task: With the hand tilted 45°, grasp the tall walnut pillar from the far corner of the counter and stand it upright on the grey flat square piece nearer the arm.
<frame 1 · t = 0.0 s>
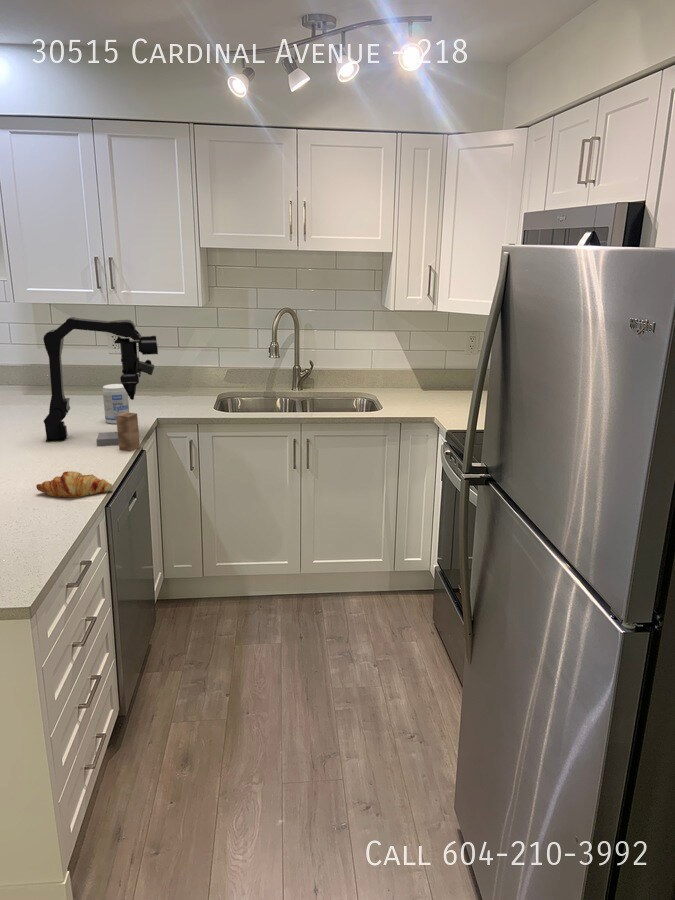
hand: (133, 396, 243), 15 cm above the countertop, tool pointing down, fingers open, 9 cm apart
grey flat square piece: (111, 441, 238), on the countertop
supplement tub: (118, 421, 266), on the countertop
walnut pillar: (129, 448, 230), on the countertop
croissant: (75, 494, 189), on the countertop
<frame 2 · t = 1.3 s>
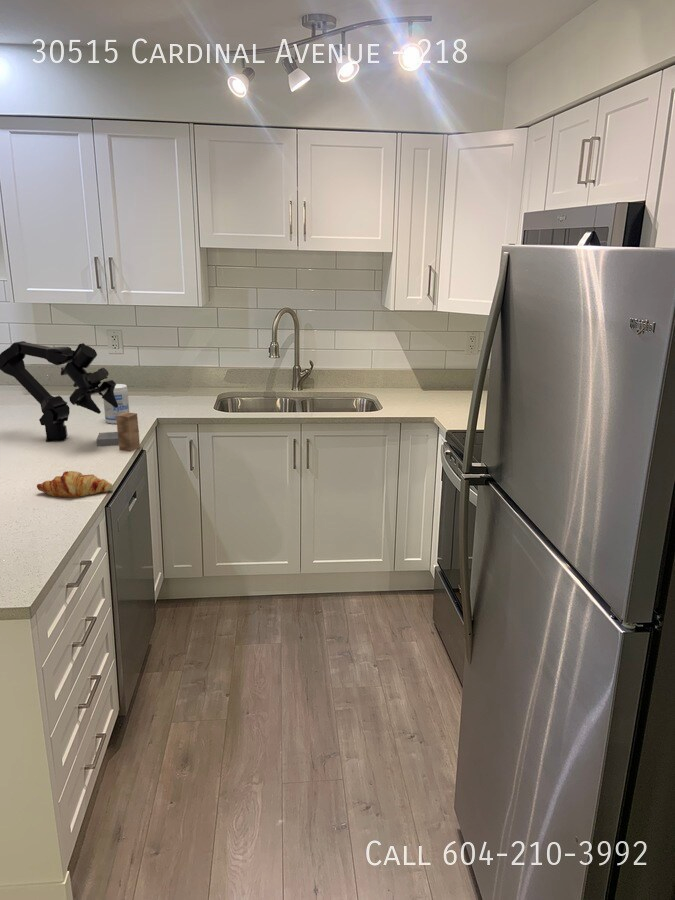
hand: (108, 409, 229), 13 cm above the countertop, tool tilted 45°, fingers open, 9 cm apart
nothing on the countertop moved.
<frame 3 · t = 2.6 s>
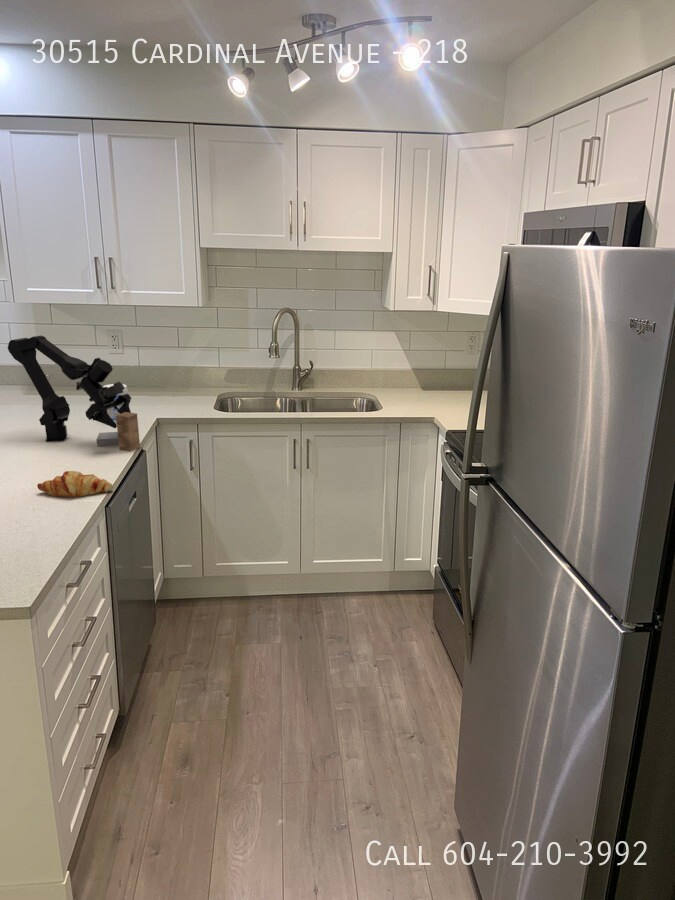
hand: (124, 424, 228), 9 cm above the countertop, tool tilted 45°, fingers open, 9 cm apart
nothing on the countertop moved.
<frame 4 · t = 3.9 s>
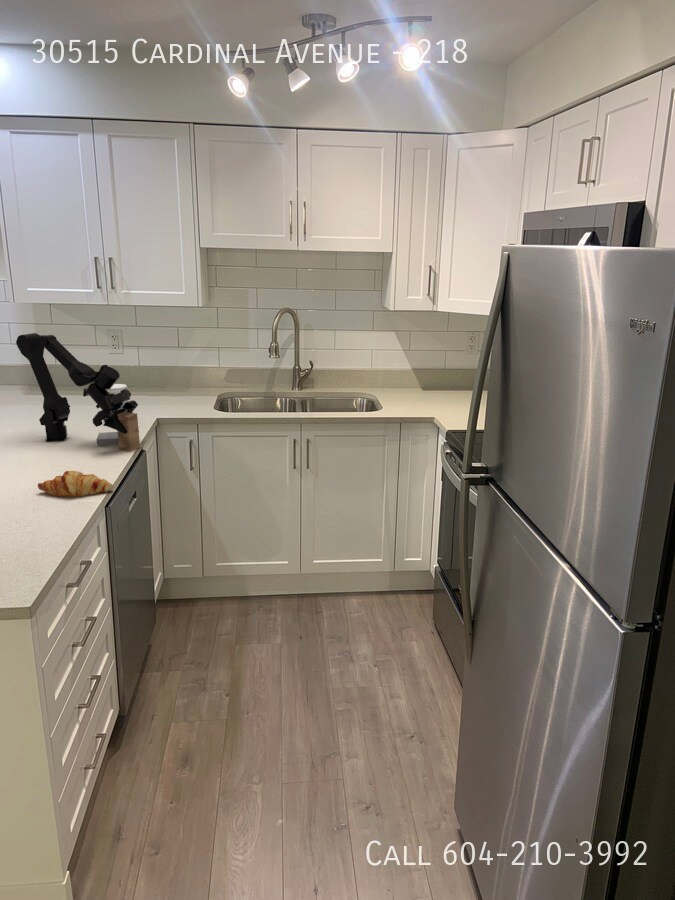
hand: (131, 431, 228), 7 cm above the countertop, tool tilted 45°, fingers closed on walnut pillar, 5 cm apart
walnut pillar: (129, 448, 230), on the countertop, touching gripper
everything else where it was.
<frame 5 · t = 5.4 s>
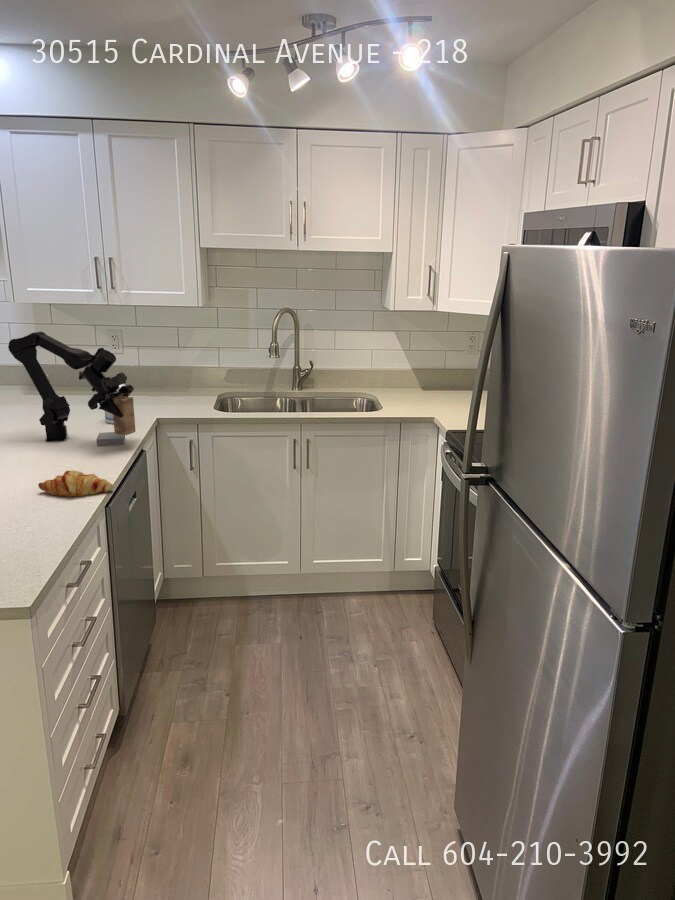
hand: (126, 415, 227), 12 cm above the countertop, tool tilted 45°, fingers closed on walnut pillar, 5 cm apart
walnut pillar: (125, 432, 230), point 6 cm above the countertop, touching gripper
everything else where it was.
when the fingers open (10 cm above the countertop, at t = 7.1 s): walnut pillar stays where it is, resting on grey flat square piece.
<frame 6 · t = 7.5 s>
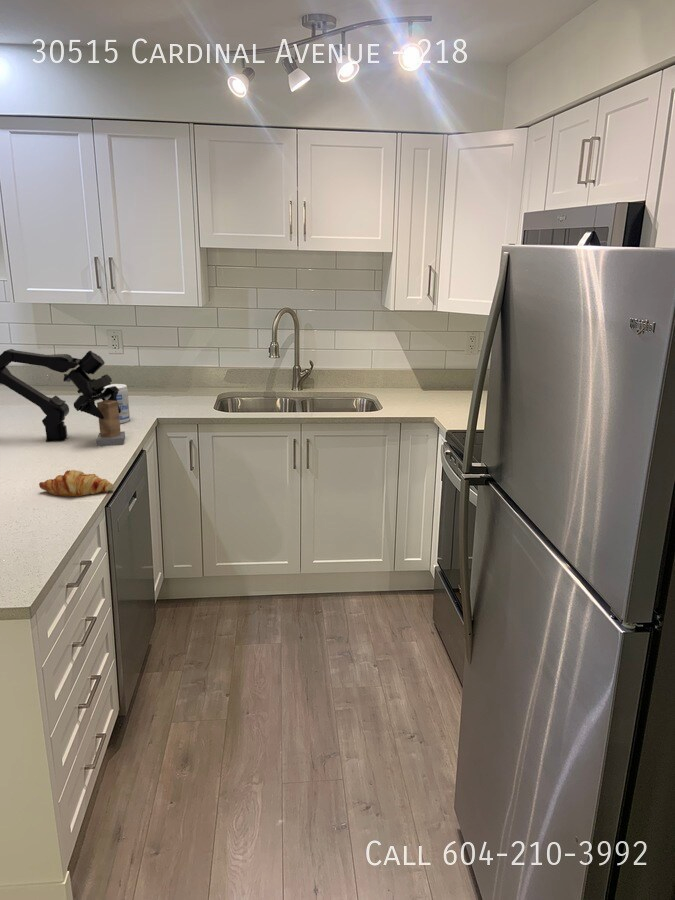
hand: (111, 415, 235), 10 cm above the countertop, tool tilted 45°, fingers open, 9 cm apart
walnut pillar: (110, 435, 237), point 2 cm above the countertop, touching grey flat square piece
everything else where it was.
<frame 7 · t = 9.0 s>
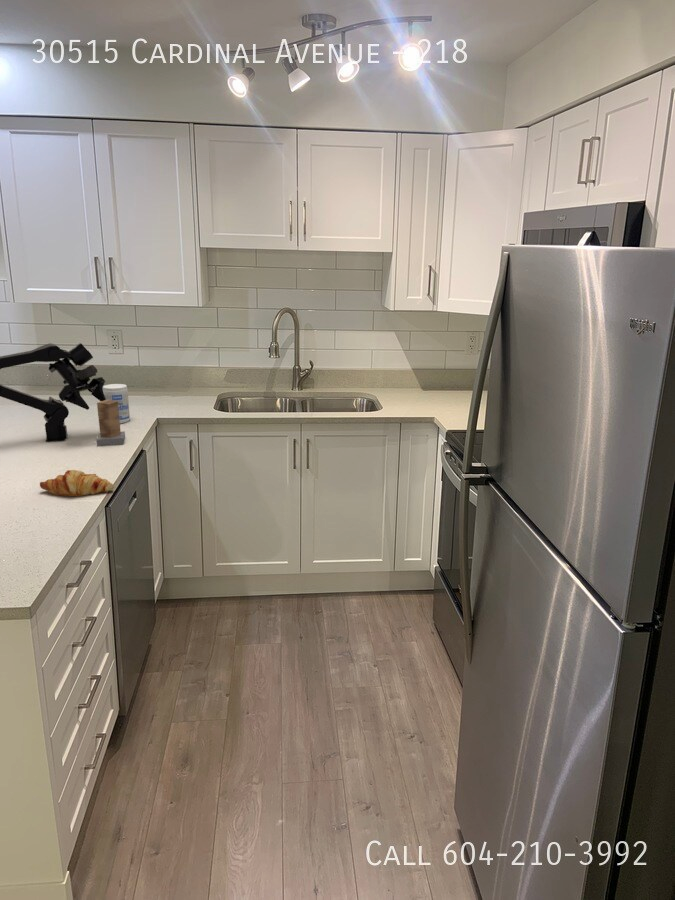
hand: (97, 406, 235), 13 cm above the countertop, tool tilted 45°, fingers open, 9 cm apart
nothing on the countertop moved.
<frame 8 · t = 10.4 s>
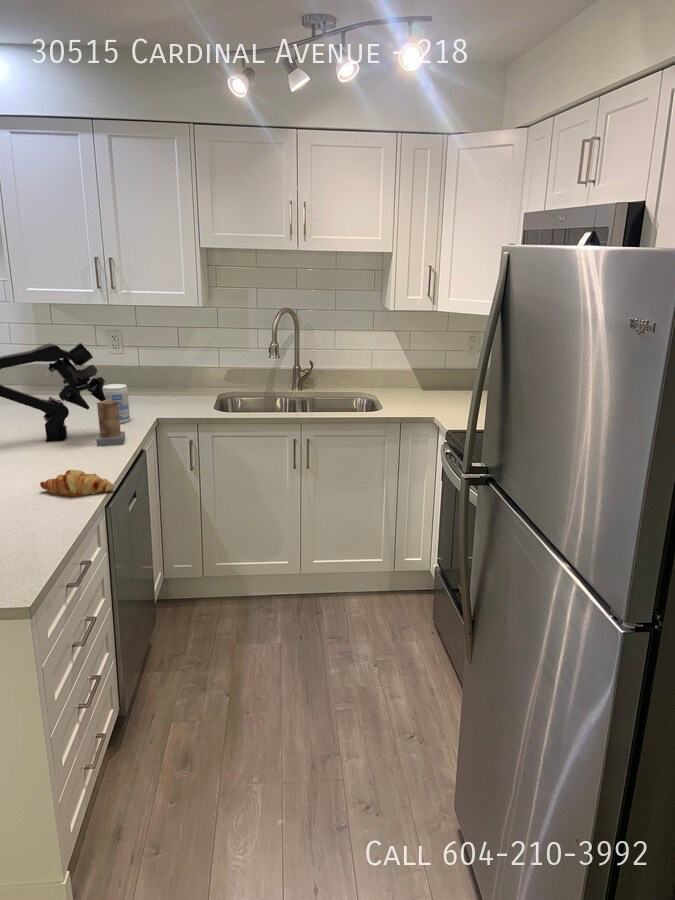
hand: (97, 405, 236), 13 cm above the countertop, tool tilted 45°, fingers open, 9 cm apart
at the end: walnut pillar 0.0 cm off-centre on the grey flat square piece, point 2.5 cm above the grey flat square piece's base; walnut pillar tilted 0°; the gripper is holding nothing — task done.
